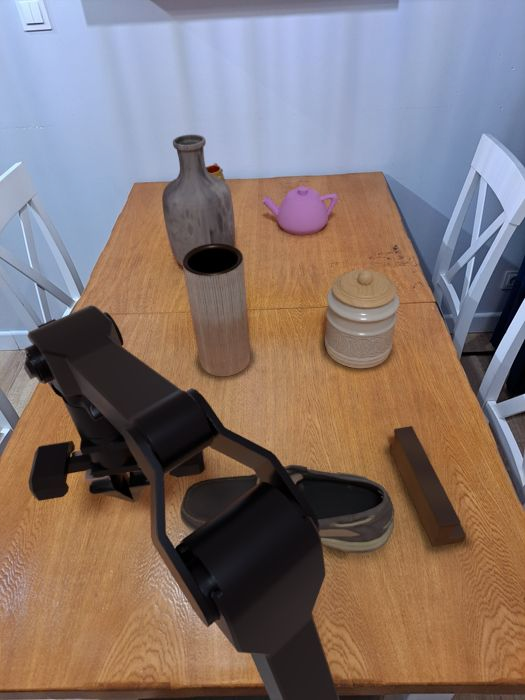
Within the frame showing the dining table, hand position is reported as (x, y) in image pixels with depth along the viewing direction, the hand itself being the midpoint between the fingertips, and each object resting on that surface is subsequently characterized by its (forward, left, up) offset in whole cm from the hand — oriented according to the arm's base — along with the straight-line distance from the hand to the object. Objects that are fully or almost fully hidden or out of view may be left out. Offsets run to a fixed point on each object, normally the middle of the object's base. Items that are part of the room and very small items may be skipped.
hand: (136, 498), depth 61 cm
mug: (+117, -20, -11) cm, 119 cm away
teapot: (+85, -40, -11) cm, 95 cm away
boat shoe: (0, -19, -11) cm, 22 cm away
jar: (+33, -40, -11) cm, 53 cm away
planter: (+35, -14, -11) cm, 39 cm away
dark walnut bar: (0, -40, -11) cm, 41 cm away
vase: (+71, -13, -11) cm, 73 cm away
